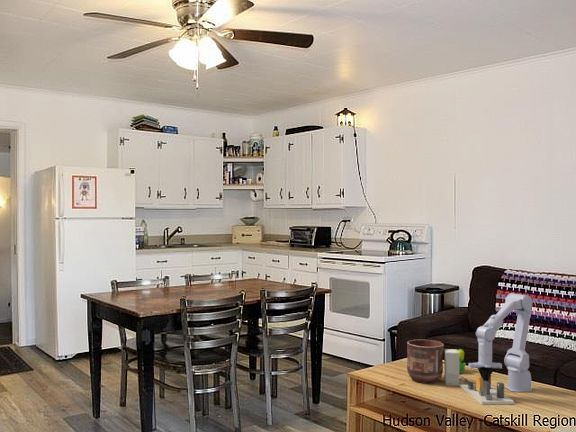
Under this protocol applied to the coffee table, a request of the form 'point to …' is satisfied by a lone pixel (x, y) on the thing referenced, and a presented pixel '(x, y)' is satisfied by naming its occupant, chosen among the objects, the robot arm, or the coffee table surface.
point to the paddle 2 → (486, 388)
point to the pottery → (425, 360)
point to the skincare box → (451, 367)
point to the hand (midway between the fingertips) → (485, 384)
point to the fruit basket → (461, 364)
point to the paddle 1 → (467, 381)
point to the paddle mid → (479, 383)
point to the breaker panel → (493, 398)
